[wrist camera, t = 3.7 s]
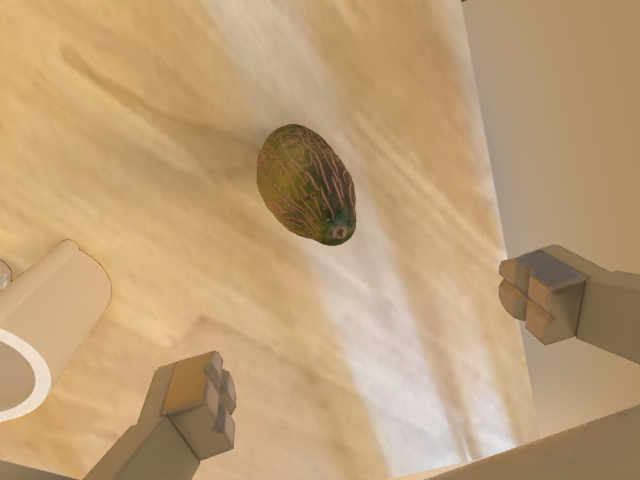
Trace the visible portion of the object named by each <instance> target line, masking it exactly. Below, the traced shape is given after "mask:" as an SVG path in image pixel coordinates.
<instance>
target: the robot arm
mask: <svg viewBox="0 0 640 480" xmlns="http://www.w3.org/2000/svg"><path fill="white" fill-rule="evenodd" d="M499 274H500V275H501V276H502V277H503V278H504V279H503V281H502V282H501V284H500V285H499V298H500V300H501V303H502V305H503V307H504V308H505V309H506V311H507V312H508V313H509V314H510V315H511V316H512V317H513V318H516V319H519V320H522V321H525V327H526V329H527V330H528V331H529V332H530V333H532V335H534V336H535V337H536V338H537V339H538V340H539V341H540V342H542V343H543V344H544V345H548V344H552V343H555V342H558V341H562V340H565V339H568V338H571V337H575V336H576V338H577V339H579V340H582V341H584V342H587V343H589V344H592V345H594V346H597V347H599V348H601V349H604V350H606V351H609V352H611V353H614V354H616V355H618V356H621V357H623V358H626V359H628V360H631V361H633V362H635V363H638V364H640V275H639V274H633V273H628V272H622V271H613V272H609V271H607V270H605V269H603V268H602V267H600V266H598V265H596V264H594V263H592V262H590V261H588V260H586V259H584V258H583V257H581V256H579V255H577V254H575V253H573V252H571V251H569V250H567V249H565V248H563V247H561V246H559V245H549V246H546V247H543V248H540V249H537V250H535V251H532V252H529V253H526V254H523V255H520V256H517V257H514V258H511V259H507V260H504V261H502V262H501V264H500V266H499ZM222 365H223V360H222V358H221V356H220V354H219V353H218V352H217V351H212V352H208V353H205V354H201V355H198V356H195V357H191V358H188V359H184V360H181V361H178V362H175V363H171V364H168V365H164V366H161V367H159V368H158V369H157V370H156V371H155V373H154V376H153V379H152V382H151V385H150V388H149V390H148V393H147V396H146V399H145V402H144V405H143V408H142V410H141V413H140V416H139V419H138V422H137V424H136V425H133V426H130V427H129V429H128V430H127V431H126V432H125V433H124V434H123V435H122V436H121V437H120V439H119V440H118V441H117V442H116V443H115V444H114V445H113V446H112V447H111V449H110V450H109V451H108V452H107V453H106V454H105V455H104V456H103V458H102V459H101V460H100V461H99V462H98V463H97V464H96V465H95V466H94V468H93V469H92V470H91V471H90V472H89V473H88V474H87V475H86V476H85V478H84V479H83V480H191V479H192V478H193V476H194V474H195V472H196V470H197V468H198V466H199V465H200V462H199V461H201V460H204V459H207V458H209V457H212V456H215V455H218V454H220V453H223V452H226V451H229V450H231V449H234V434H235V422H234V420H233V419H232V417H231V414H232V413H233V411H234V410H235V408H236V392H235V385H234V382H233V379H232V377H231V375H230V373H229V372H228V371H226V370H224V369H222ZM425 480H640V404H639V405H637V406H634V407H631V408H628V409H625V410H622V411H620V412H616V413H614V414H611V415H608V416H605V417H602V418H599V419H596V420H594V421H591V422H588V423H585V424H583V425H579V426H576V427H574V428H571V429H568V430H565V431H562V432H560V433H557V434H554V435H551V436H548V437H545V438H542V439H539V440H536V441H534V442H531V443H528V444H525V445H522V446H519V447H516V448H513V449H511V450H508V451H505V452H502V453H499V454H496V455H493V456H491V457H488V458H485V459H482V460H479V461H476V462H473V463H471V464H468V465H465V466H462V467H460V468H457V469H454V470H451V471H448V472H445V473H442V474H439V475H437V476H434V477H431V478H428V479H425Z"/></svg>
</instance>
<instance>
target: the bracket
mask: <svg viewBox="0 0 640 480" xmlns="http://www.w3.org/2000/svg"><path fill="white" fill-rule="evenodd" d="M11 274H12V271H11V270H10V269H9V268H8V267H7V265H6V264H5V263H4V262H3V261H0V422H2V421H7V420H11V419H14V418H17V417H20V416H23V415H25V414H27V413H29V412H31V411H32V410H34V409H35V408H37V407H38V406H39V405H40V404H41V403H42V402H43V401H44V400H45V398H46V397H47V395H48V394H49V392H50V391H51V389H52V388H53V386H54V385H55V383H56V382H57V380H58V379H59V377H60V376H61V375H62V373H63V372H64V370H65V369H66V367H67V366H68V364H69V363H70V361H71V360H72V358H73V357H74V355H75V354H76V352H77V351H78V349H79V348H80V346H81V345H82V343H83V342H84V340H85V339H86V337H87V336H88V334H89V333H90V331H91V330H92V328H93V327H94V326H95V324H96V323H97V321H98V320H99V318H100V317H101V315H102V314H103V312H104V311H105V309H106V308H107V306H108V304H109V302H110V299H111V294H112V289H111V283H110V280H109V278H108V276H107V274H106V272H105V271H104V269H103V268H102V267H101V266H100V265H99V264H98V263H97V262H96V261H95V260H94V259H92V258H91V257H90V256H88V255H87V254H85V253H83V252H81V251H79V246H78V244H77V243H76V242H74V241H72V240H64V241H62V242H61V243H60V244H59V245H57V246H56V247H55V248H54V249H52V250H51V251H50V252H49V253H47V254H46V255H45V256H44V257H42V258H41V259H40V260H39V261H37V262H36V263H35V264H34V265H32V266H31V267H30V268H29V269H27V270H26V271H25V272H24V273H22V274H21V275H20V276H19V277H17V278H16V279H15V280H14V281H13V282H11Z"/></svg>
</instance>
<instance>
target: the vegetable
mask: <svg viewBox="0 0 640 480" xmlns="http://www.w3.org/2000/svg"><path fill="white" fill-rule="evenodd" d="M257 184H258V188H259V191H260V194H261V196H262V198H263V200H264V202H265V204H266V206H267V207H268V209H269V210H270V211H271V212H272V213H273V214H274V216H275V217H276V218H277V220H278V221H279V222H280V223H281V224H282V225H284V226H285V227H286V228H287V229H288V230H289V231H291V232H293V233H294V234H296V235H298V236H301V237H305V238H309V239H313V240H316V241H318V242H319V243H321V244H324V245H328V246H336V245H340V244H343V243H344V242H346V241H347V240H349V239H350V238H351V236H352V235H353V233H354V231H355V228H356V212H355V202H356V197H355V190H354V184H353V181H352V177H351V175H350V173H349V172H348V171H347V169H346V168H345V166H344V164H343V163H342V161H341V160H340V159H339V157H338V156H337V155H336V154H335V153H334V151H333V150H332V148H331V147H330V146H329V145H328V144H327V143H326V141H325V140H324V139H323V138H322V137H321V136H319V135H318V134H316V133H315V132H313V131H311V130H310V129H308V128H306V127H303V126H301V125H296V124H290V125H286V126H283V127H280V128H278V129H276V130H275V131H274V132H273V133H272V134H271V135H270V136H269V137H268V138H267V140H266V141H265V143H264V145H263V148H262V150H261V152H260V154H259V157H258V161H257Z"/></svg>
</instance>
